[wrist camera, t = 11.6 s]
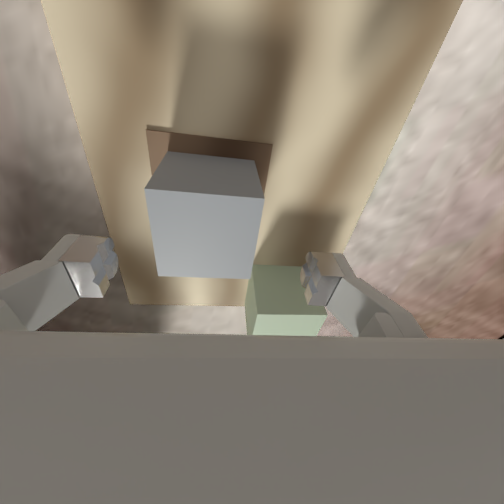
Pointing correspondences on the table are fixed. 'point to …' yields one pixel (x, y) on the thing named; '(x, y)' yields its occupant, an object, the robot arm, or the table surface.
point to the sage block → (280, 303)
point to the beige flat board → (243, 112)
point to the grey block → (204, 215)
